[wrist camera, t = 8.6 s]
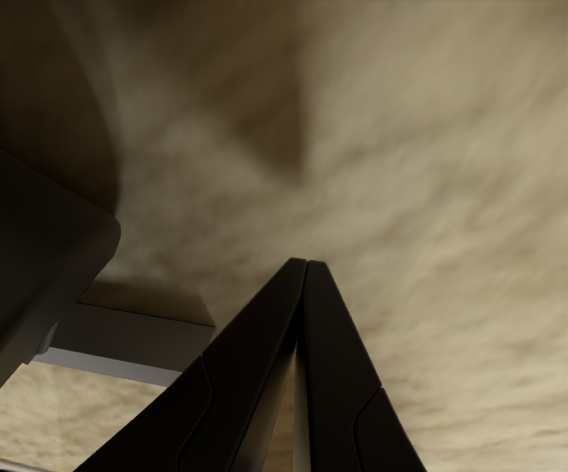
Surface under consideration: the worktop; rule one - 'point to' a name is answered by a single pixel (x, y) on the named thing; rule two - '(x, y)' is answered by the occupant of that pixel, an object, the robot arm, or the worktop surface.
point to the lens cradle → (126, 344)
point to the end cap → (44, 258)
